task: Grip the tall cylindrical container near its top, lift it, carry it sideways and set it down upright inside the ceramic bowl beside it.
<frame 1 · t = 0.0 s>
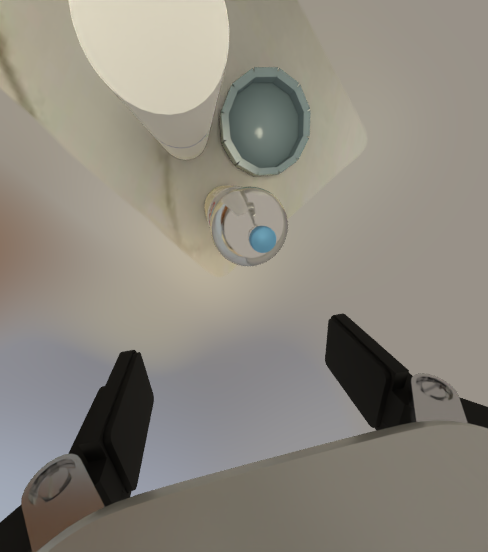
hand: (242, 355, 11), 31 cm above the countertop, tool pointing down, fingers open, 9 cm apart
cylindrical container: (183, 133, 34), on the countertop
water bottle: (224, 207, 39), on the countertop
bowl: (262, 129, 35), on the countertop
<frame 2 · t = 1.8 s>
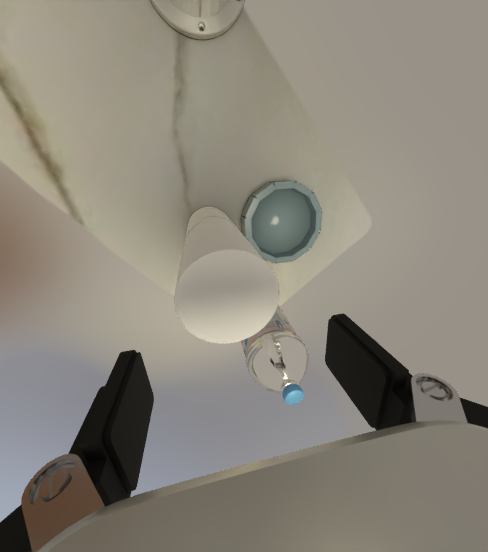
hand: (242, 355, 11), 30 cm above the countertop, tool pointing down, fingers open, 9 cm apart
cylindrical container: (209, 228, 38), on the countertop
water bottle: (243, 283, 43), on the countertop
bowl: (278, 221, 40), on the countertop
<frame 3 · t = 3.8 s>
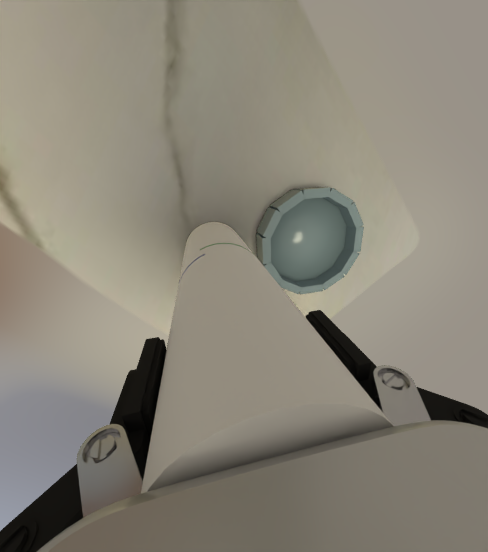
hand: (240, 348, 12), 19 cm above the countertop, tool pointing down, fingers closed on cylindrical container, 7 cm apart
cylindrical container: (214, 250, 29), on the countertop, touching gripper
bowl: (303, 239, 31), on the countertop
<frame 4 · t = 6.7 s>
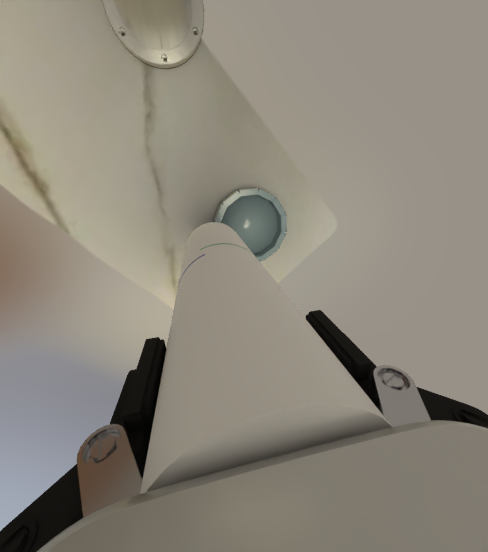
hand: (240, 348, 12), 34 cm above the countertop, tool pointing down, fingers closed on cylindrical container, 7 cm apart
cylindrical container: (214, 250, 29), point 15 cm above the countertop, touching gripper
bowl: (248, 225, 43), on the countertop
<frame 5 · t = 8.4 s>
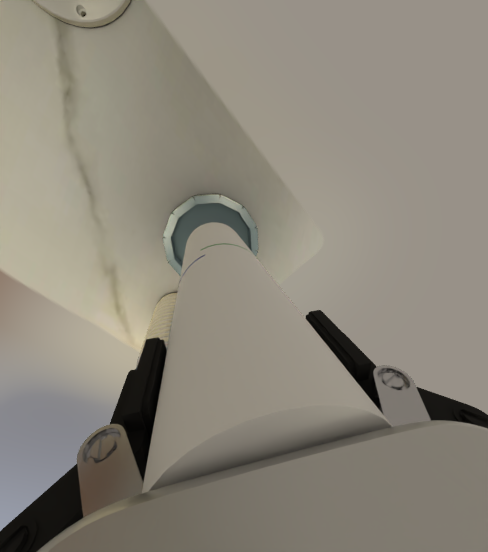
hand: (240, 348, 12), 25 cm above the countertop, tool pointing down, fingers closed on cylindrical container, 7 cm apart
cylindrical container: (214, 250, 29), point 6 cm above the countertop, touching gripper
water bottle: (177, 308, 38), on the countertop
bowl: (211, 239, 35), on the countertop
when the fingers open (22 cm above the countertop, at t = 9.6 s): cylindrical container drops 2 cm, resting on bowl.
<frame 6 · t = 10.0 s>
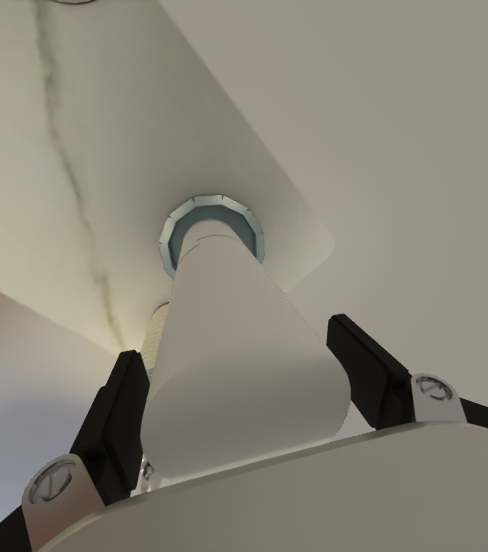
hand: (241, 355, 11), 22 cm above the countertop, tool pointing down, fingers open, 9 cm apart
cylindrical container: (210, 244, 31), point 1 cm above the countertop, touching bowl
water bottle: (175, 319, 35), on the countertop
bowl: (212, 244, 31), on the countertop
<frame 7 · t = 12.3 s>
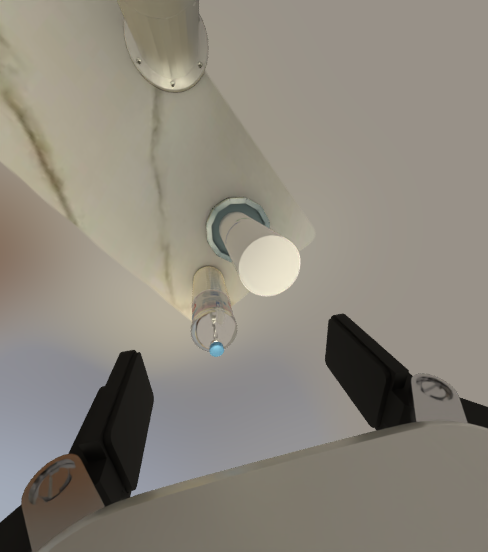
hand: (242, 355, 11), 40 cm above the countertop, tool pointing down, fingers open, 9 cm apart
cylindrical container: (235, 228, 48), point 1 cm above the countertop, touching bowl
water bottle: (208, 278, 52), on the countertop
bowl: (236, 229, 49), on the countertop
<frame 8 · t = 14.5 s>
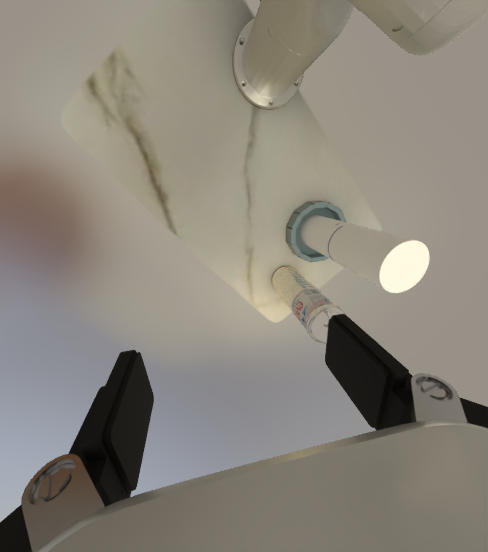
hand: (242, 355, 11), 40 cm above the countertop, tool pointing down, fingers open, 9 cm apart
cylindrical container: (313, 230, 52), point 1 cm above the countertop, touching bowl
water bottle: (283, 277, 56), on the countertop
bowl: (312, 231, 53), on the countertop
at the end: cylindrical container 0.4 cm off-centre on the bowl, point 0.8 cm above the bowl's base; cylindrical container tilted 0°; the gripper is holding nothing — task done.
